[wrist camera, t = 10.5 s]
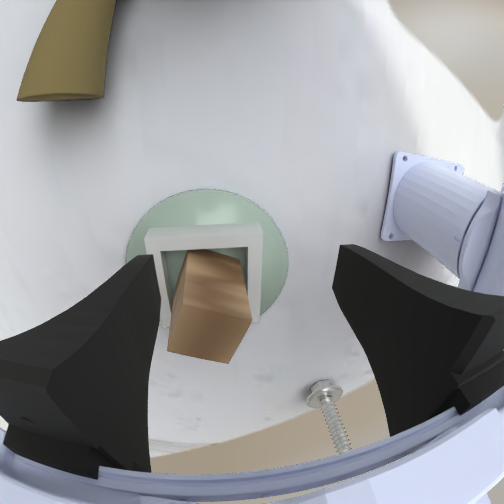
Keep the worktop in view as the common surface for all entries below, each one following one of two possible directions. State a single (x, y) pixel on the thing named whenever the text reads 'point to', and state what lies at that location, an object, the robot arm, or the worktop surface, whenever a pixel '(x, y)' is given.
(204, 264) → the brown tall block
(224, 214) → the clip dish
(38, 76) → the olive cylinder
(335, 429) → the screw
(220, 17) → the worktop surface
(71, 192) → the worktop surface
